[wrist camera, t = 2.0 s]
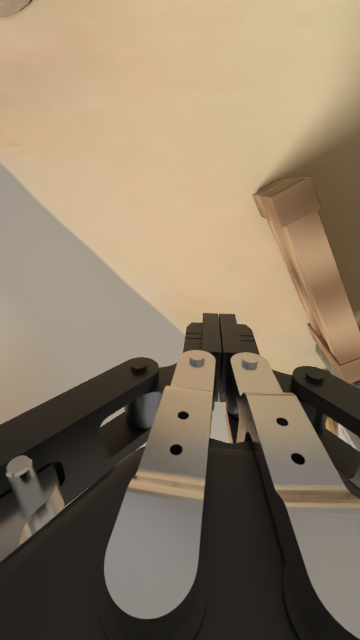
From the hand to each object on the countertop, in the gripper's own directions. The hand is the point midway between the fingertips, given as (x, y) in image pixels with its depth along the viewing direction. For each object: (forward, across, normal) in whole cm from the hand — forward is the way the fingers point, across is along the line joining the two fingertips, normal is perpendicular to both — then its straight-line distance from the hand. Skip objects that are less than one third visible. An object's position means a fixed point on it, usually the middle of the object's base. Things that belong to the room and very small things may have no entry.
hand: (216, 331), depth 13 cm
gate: (+15, -8, +1) cm, 17 cm away
